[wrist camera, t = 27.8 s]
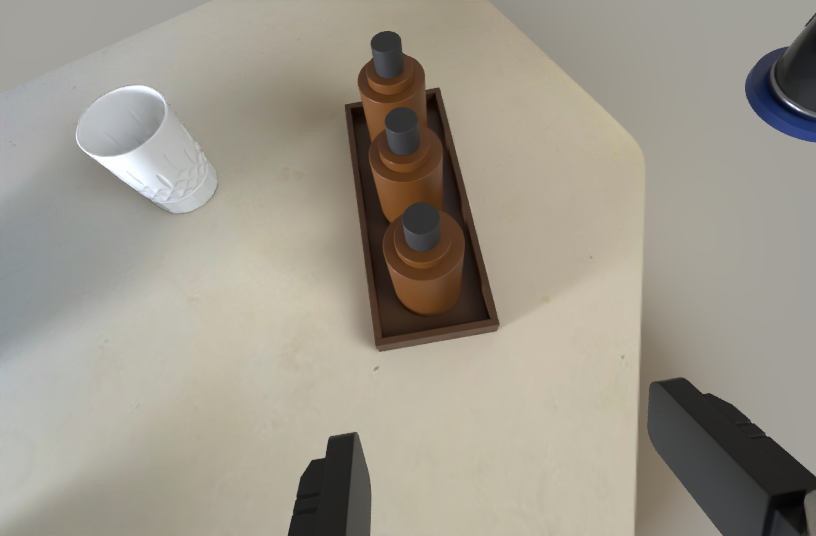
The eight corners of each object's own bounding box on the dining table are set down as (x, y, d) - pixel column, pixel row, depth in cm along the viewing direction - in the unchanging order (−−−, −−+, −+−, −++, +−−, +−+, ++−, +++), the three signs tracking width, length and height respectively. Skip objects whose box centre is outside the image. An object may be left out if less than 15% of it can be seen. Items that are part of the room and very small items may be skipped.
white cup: (227, 207, 43) (169, 142, 34) (151, 228, 43) (73, 168, 34) (220, 148, 47) (165, 74, 37) (150, 167, 46) (77, 98, 37)
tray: (496, 331, 36) (499, 324, 34) (379, 351, 36) (375, 346, 34) (439, 102, 47) (439, 87, 45) (348, 118, 47) (344, 104, 45)
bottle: (446, 247, 39) (447, 168, 28) (470, 303, 37) (481, 241, 26) (387, 268, 39) (364, 196, 28) (407, 326, 36) (391, 273, 25)
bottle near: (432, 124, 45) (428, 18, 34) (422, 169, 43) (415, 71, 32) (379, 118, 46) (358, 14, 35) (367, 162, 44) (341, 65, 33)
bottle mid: (447, 186, 42) (448, 92, 31) (437, 238, 40) (434, 157, 29) (389, 179, 43) (370, 85, 32) (377, 230, 40) (351, 148, 29)
